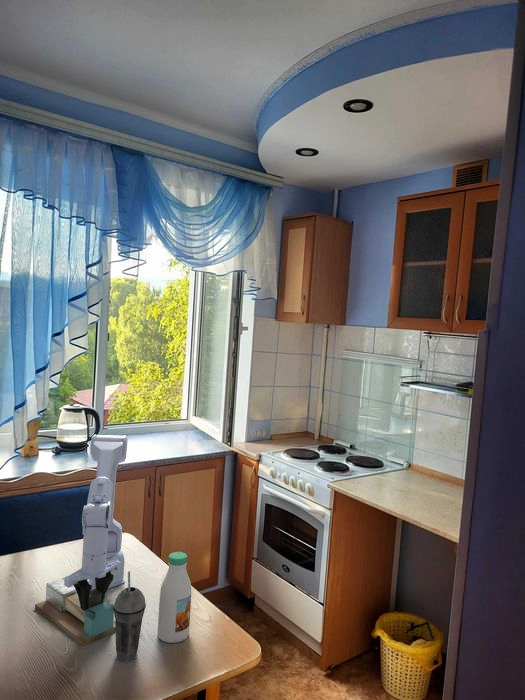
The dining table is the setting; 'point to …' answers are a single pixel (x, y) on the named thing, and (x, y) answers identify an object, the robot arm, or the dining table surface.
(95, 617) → the socket
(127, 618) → the beverage cup
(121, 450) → the robot arm
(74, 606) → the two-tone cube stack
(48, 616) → the base board
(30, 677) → the dining table surface
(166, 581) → the milk bottle
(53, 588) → the sleeve
